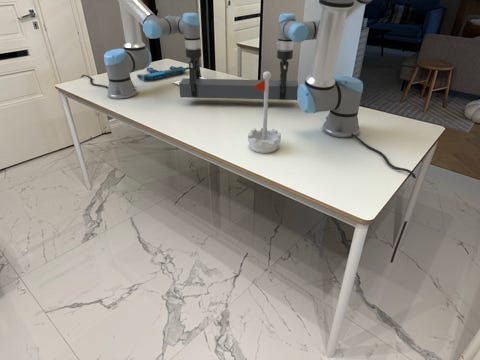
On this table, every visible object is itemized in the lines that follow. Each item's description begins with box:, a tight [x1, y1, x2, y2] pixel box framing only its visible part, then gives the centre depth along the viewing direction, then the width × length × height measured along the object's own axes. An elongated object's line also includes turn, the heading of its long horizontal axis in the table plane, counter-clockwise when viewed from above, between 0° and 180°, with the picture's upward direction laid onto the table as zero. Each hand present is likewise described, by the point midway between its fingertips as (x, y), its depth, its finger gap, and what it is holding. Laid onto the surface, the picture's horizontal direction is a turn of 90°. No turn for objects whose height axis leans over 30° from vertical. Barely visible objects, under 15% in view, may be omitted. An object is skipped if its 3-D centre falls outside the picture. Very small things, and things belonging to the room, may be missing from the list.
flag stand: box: [247, 70, 282, 154], centre depth 129 cm, size 13×13×30 cm
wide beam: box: [178, 78, 300, 101], centre depth 174 cm, size 60×10×7 cm, turn 85°
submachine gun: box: [136, 65, 189, 82], centre depth 223 cm, size 34×4×25 cm
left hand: (196, 93), depth 177 cm, fingers closed on wide beam, 9 cm apart
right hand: (282, 95), depth 174 cm, fingers closed on wide beam, 9 cm apart
